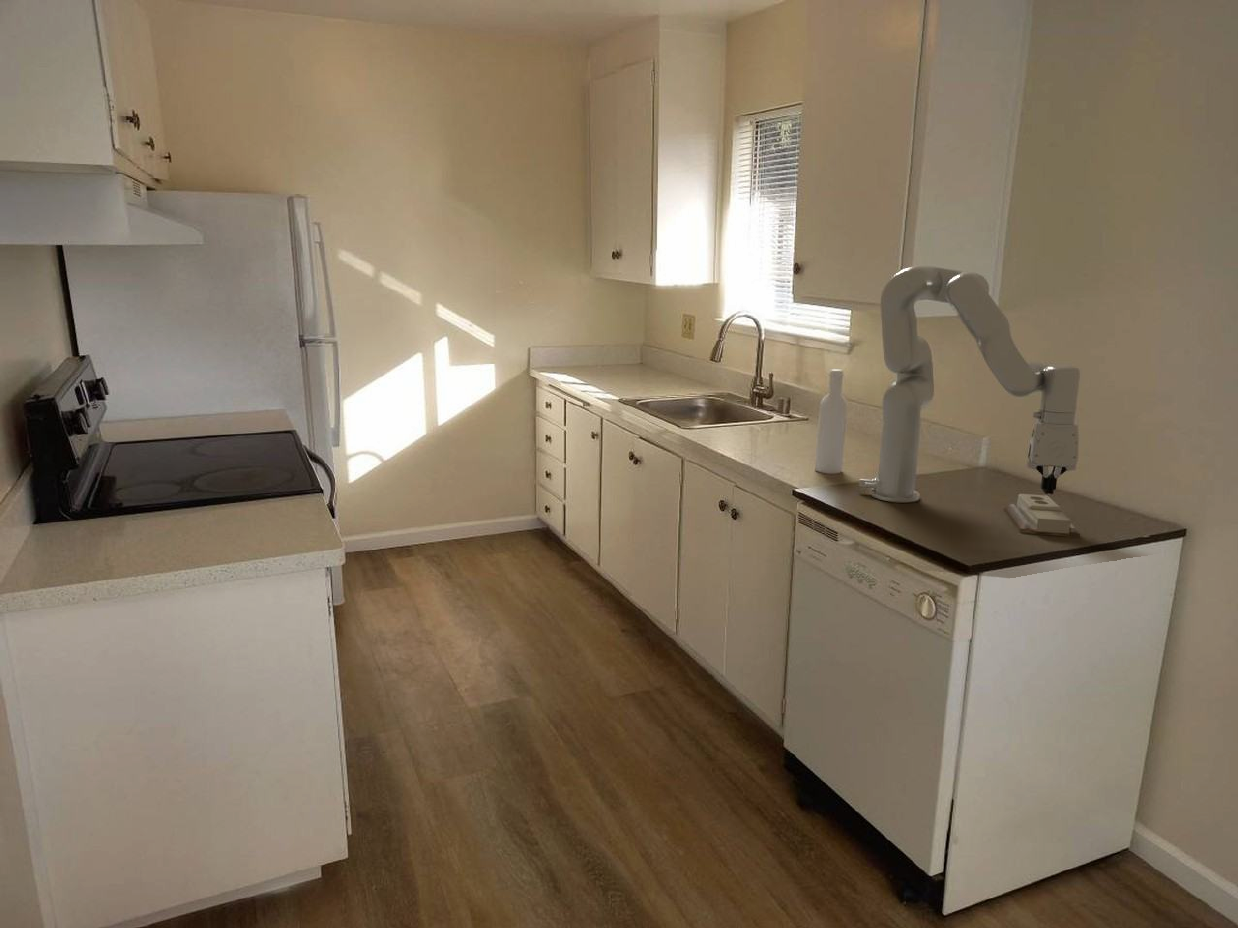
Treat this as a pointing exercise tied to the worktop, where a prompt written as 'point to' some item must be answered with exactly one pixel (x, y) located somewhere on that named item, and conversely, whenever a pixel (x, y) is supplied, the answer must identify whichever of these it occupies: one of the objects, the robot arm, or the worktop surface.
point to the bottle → (831, 427)
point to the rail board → (1027, 528)
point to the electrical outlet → (1043, 513)
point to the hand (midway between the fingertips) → (1047, 492)
